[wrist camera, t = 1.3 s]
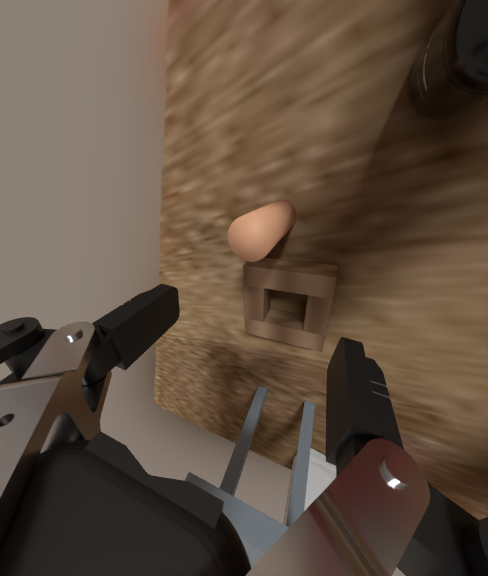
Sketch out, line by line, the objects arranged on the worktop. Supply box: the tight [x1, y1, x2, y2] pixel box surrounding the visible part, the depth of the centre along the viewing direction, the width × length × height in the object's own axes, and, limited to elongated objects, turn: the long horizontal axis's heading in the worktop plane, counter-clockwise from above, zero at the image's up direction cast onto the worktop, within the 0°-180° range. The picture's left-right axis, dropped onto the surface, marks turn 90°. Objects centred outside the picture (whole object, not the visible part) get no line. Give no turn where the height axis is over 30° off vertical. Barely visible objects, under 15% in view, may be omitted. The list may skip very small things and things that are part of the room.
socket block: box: [243, 257, 338, 352], centre depth 31 cm, size 12×12×4 cm
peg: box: [228, 200, 296, 262], centre depth 22 cm, size 4×4×12 cm
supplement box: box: [283, 448, 336, 525], centre depth 44 cm, size 9×9×15 cm
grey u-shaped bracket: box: [185, 386, 315, 568], centre depth 30 cm, size 12×17×24 cm
